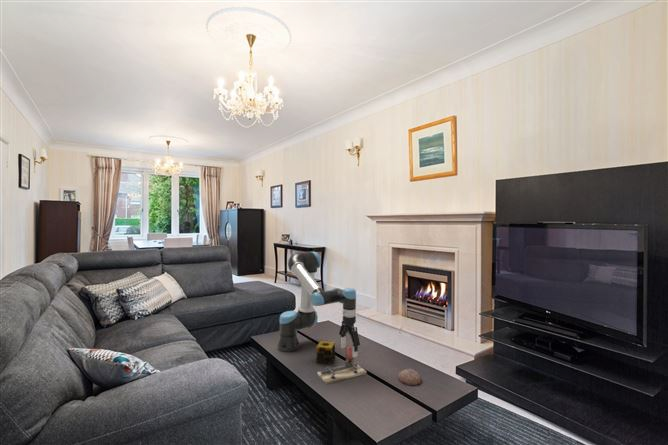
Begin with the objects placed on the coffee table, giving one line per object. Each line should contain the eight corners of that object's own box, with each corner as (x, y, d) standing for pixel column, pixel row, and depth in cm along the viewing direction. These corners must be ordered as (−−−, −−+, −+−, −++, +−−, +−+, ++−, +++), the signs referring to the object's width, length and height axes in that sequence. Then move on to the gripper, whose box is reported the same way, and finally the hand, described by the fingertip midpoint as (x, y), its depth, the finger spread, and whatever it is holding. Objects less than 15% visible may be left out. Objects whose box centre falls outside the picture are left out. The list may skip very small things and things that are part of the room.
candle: (332, 364, 193) (332, 348, 193) (315, 363, 195) (315, 346, 195) (335, 357, 203) (335, 341, 203) (320, 356, 205) (319, 340, 205)
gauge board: (317, 374, 181) (317, 371, 181) (355, 365, 192) (355, 362, 192) (326, 383, 170) (326, 381, 170) (366, 373, 182) (366, 371, 182)
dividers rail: (320, 373, 180) (320, 368, 180) (356, 364, 190) (356, 360, 190) (327, 380, 172) (327, 375, 172) (364, 371, 182) (364, 366, 182)
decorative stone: (413, 388, 166) (413, 378, 166) (393, 380, 175) (393, 370, 174) (425, 380, 174) (425, 370, 174) (406, 373, 183) (406, 363, 183)
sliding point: (344, 366, 188) (344, 346, 188) (351, 364, 190) (350, 345, 190) (353, 373, 179) (353, 353, 179) (359, 371, 181) (359, 351, 181)
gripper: (333, 310, 196) (333, 345, 197) (354, 323, 174) (354, 362, 174) (344, 309, 200) (344, 343, 200) (366, 321, 177) (366, 359, 178)
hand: (349, 352), depth 187 cm, fingers open, 13 cm apart
